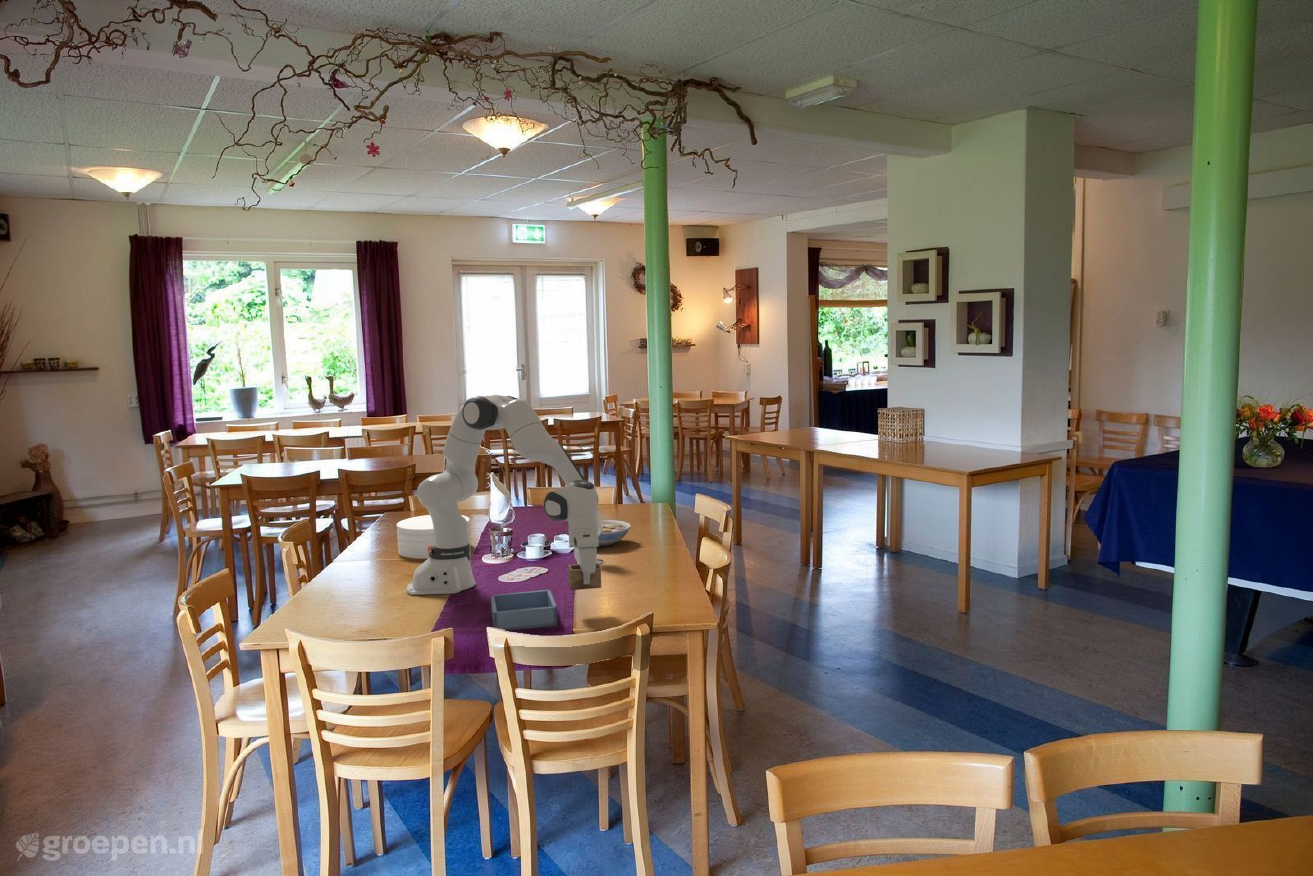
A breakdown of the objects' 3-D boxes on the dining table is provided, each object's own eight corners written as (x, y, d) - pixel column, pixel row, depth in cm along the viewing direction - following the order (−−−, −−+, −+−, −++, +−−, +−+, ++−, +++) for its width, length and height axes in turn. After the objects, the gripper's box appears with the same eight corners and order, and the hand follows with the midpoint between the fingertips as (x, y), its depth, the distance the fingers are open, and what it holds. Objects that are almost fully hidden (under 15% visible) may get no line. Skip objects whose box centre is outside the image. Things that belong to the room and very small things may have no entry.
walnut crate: (571, 590, 257) (570, 570, 257) (568, 584, 263) (568, 565, 262) (601, 587, 259) (600, 568, 259) (597, 582, 265) (597, 563, 264)
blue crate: (494, 632, 247) (493, 613, 246) (491, 612, 265) (490, 595, 264) (557, 625, 251) (556, 607, 250) (550, 607, 269) (549, 589, 268)
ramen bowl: (629, 551, 334) (629, 530, 333) (570, 552, 334) (569, 532, 333) (632, 536, 359) (632, 516, 358) (577, 537, 359) (576, 518, 358)
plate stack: (479, 541, 358) (478, 513, 357) (457, 559, 330) (456, 529, 329) (414, 541, 361) (412, 514, 360) (386, 559, 333) (385, 529, 332)
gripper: (568, 527, 269) (569, 571, 270) (577, 543, 249) (578, 590, 251) (588, 526, 270) (589, 569, 272) (599, 542, 250) (600, 589, 252)
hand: (584, 580), depth 261 cm, fingers closed on walnut crate, 6 cm apart
